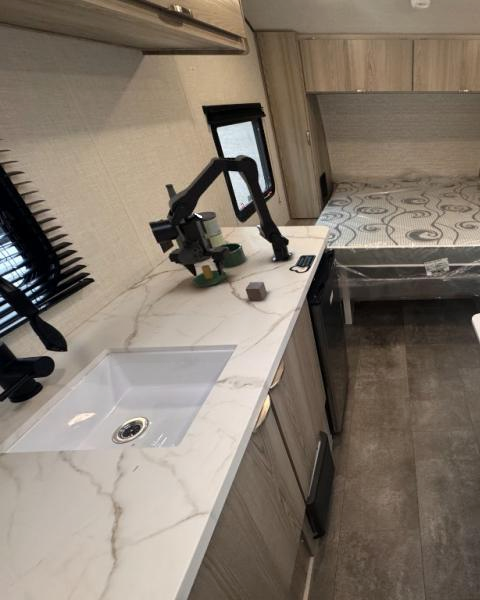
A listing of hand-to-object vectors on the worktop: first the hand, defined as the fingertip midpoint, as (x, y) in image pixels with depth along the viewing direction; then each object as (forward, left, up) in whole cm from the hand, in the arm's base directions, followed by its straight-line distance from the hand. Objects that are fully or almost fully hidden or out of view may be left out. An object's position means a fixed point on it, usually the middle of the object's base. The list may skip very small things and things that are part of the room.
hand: (208, 275), depth 119 cm
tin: (-15, +2, -2) cm, 15 cm away
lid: (0, 0, -1) cm, 1 cm away
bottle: (-20, -14, -2) cm, 25 cm away
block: (+13, +22, -2) cm, 26 cm away
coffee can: (-32, -13, -2) cm, 35 cm away
